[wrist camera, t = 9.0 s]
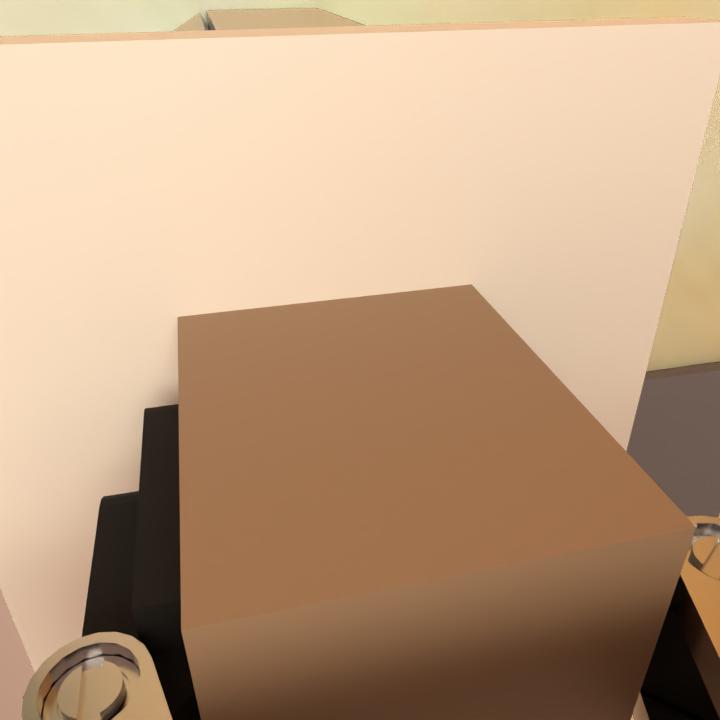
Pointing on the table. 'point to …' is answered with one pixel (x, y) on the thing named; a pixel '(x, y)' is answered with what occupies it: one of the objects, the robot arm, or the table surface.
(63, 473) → the lid
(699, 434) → the mat
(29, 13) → the table surface
